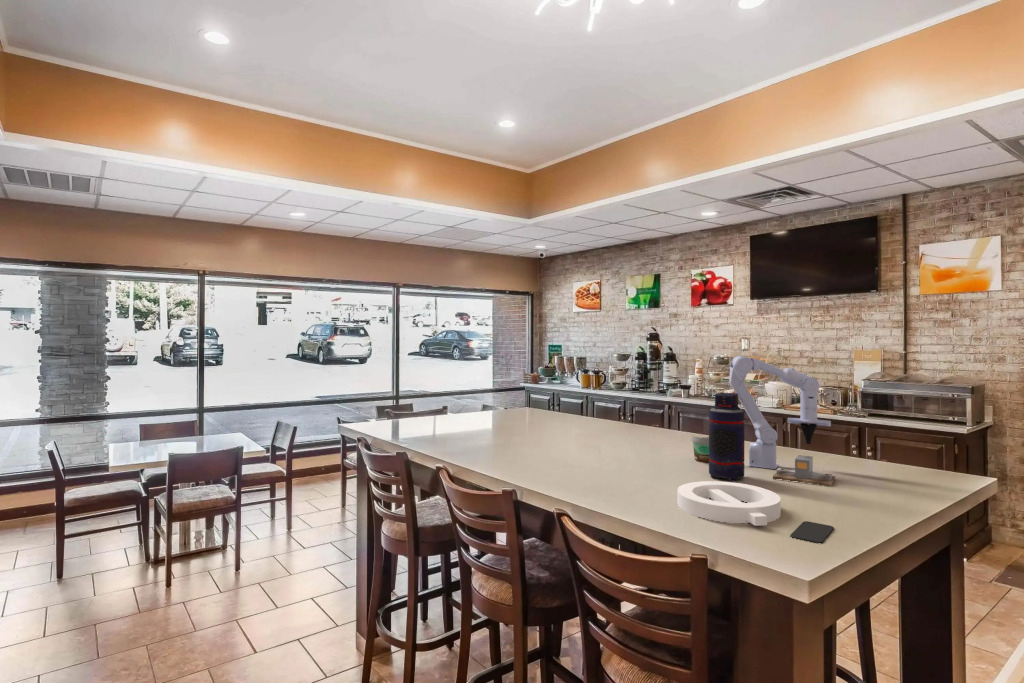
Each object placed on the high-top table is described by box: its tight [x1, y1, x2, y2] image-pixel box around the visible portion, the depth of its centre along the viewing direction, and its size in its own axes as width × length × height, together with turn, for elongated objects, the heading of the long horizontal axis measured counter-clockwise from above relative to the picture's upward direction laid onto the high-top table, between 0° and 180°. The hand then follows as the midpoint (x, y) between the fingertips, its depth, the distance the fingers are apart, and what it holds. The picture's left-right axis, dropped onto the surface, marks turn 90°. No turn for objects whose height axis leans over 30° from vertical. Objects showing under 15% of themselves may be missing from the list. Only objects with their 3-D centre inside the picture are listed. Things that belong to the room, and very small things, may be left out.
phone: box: [789, 520, 835, 544], centre depth 145 cm, size 7×1×15 cm
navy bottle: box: [708, 392, 745, 482], centre depth 203 cm, size 14×12×30 cm
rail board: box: [772, 467, 836, 487], centre depth 200 cm, size 18×12×3 cm, turn 55°
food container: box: [690, 435, 710, 464], centre depth 227 cm, size 12×6×10 cm, turn 73°
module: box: [794, 454, 814, 479], centre depth 200 cm, size 4×8×6 cm, turn 145°
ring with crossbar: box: [676, 480, 781, 527], centre depth 165 cm, size 28×28×5 cm
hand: (808, 443), depth 216 cm, fingers closed
